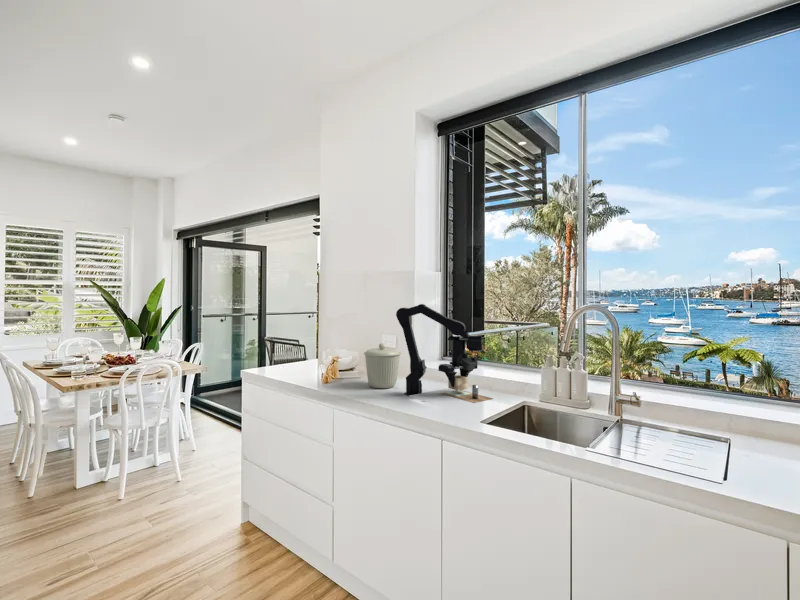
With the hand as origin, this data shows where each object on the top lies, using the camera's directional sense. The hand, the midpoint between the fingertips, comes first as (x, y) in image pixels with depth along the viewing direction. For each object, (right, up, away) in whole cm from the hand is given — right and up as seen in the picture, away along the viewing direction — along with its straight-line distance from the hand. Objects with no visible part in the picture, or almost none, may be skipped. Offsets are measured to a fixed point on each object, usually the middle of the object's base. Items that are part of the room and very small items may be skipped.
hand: (458, 386), depth 185 cm
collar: (0, -1, 0) cm, 1 cm away
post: (+6, -4, -8) cm, 11 cm away
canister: (-34, -5, +21) cm, 40 cm away
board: (+3, -5, -4) cm, 7 cm away
